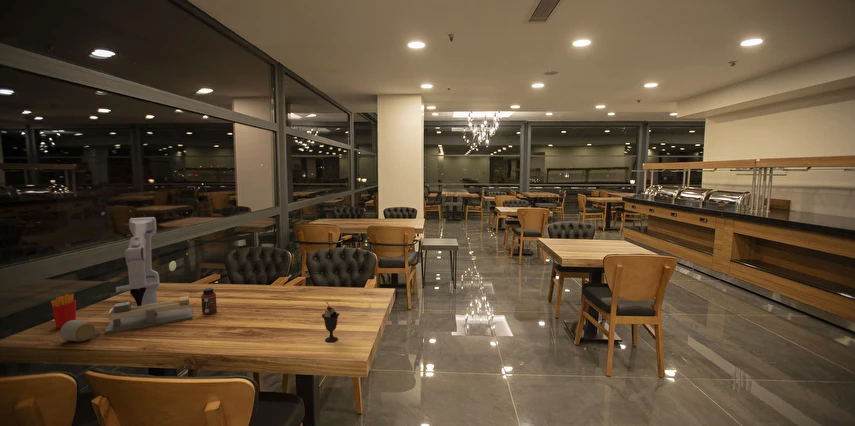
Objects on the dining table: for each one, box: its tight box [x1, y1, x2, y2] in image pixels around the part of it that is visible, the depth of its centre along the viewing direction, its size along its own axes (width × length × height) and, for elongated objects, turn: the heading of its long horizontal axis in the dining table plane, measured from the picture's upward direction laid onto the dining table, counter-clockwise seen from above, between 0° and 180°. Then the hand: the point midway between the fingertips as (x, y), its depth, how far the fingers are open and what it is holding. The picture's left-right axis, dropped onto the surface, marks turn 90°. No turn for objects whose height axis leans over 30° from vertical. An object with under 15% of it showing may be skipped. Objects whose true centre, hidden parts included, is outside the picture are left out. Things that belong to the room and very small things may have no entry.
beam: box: [108, 295, 190, 321], centre depth 164 cm, size 7×28×4 cm, turn 122°
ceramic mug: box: [59, 319, 101, 343], centre depth 146 cm, size 11×8×8 cm
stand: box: [104, 303, 193, 335], centre depth 164 cm, size 14×30×6 cm, turn 122°
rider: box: [113, 301, 132, 314], centre depth 158 cm, size 4×5×4 cm
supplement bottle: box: [200, 287, 218, 315], centre depth 173 cm, size 6×6×11 cm
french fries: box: [50, 293, 77, 329], centre depth 159 cm, size 9×4×13 cm, turn 2°
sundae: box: [321, 301, 340, 343], centre depth 144 cm, size 7×7×15 cm
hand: (139, 305), depth 161 cm, fingers closed
